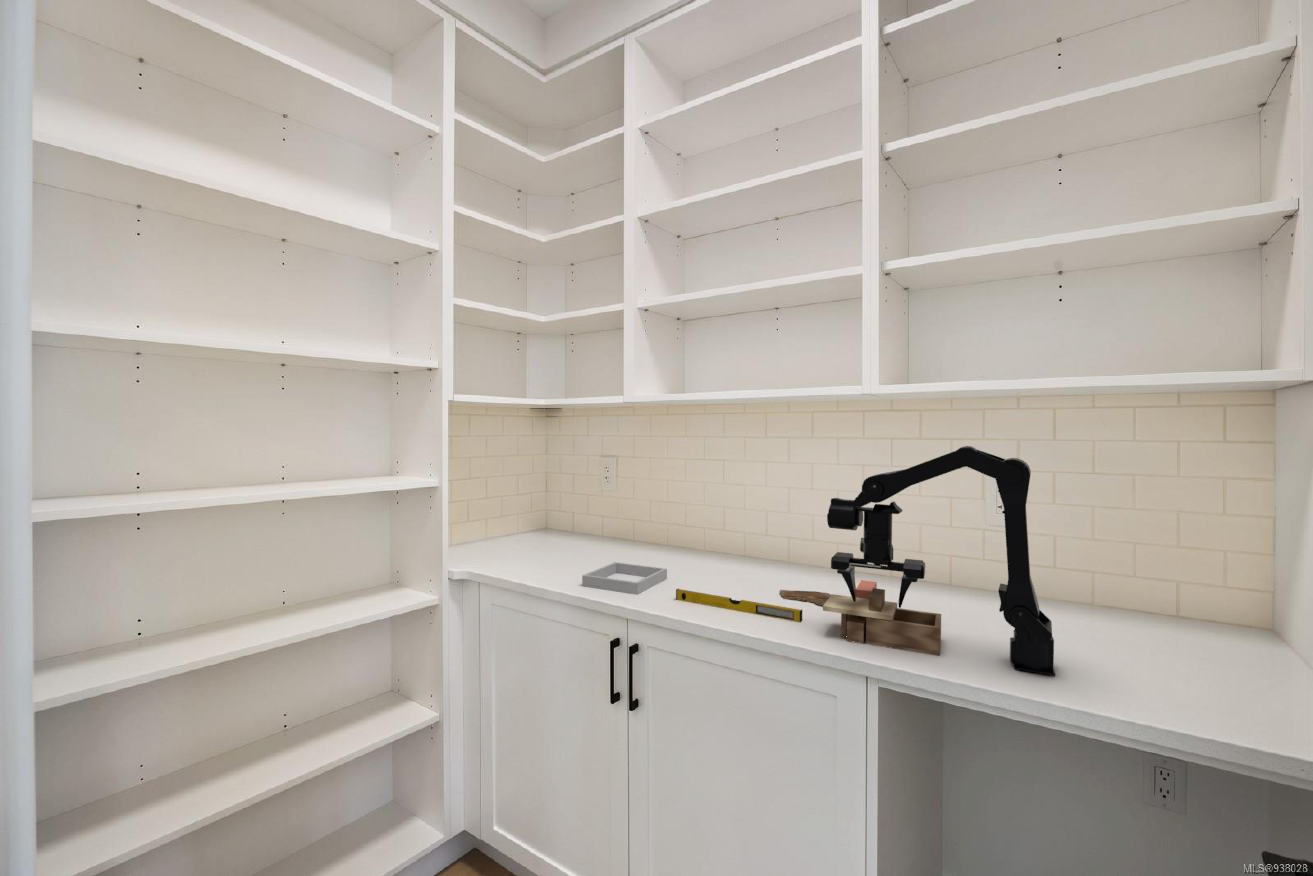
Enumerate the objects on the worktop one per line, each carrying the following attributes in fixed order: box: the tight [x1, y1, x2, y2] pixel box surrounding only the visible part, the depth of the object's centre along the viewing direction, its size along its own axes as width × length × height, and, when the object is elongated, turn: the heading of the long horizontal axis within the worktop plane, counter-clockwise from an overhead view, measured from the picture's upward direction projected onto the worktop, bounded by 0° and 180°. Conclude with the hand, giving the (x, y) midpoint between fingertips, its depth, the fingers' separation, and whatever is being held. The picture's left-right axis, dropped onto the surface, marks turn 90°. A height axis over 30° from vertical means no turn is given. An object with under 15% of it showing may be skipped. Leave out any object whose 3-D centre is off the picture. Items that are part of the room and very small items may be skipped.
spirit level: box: [675, 587, 803, 623], centre depth 147 cm, size 33×1×3 cm, turn 59°
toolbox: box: [840, 607, 942, 656], centre depth 132 cm, size 19×21×6 cm
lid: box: [822, 588, 898, 621], centre depth 130 cm, size 14×10×4 cm
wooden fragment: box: [778, 589, 831, 607], centre depth 155 cm, size 26×11×1 cm, turn 52°
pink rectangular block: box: [856, 580, 878, 599], centre depth 140 cm, size 4×9×4 cm, turn 153°
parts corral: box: [581, 561, 668, 595], centre depth 172 cm, size 18×18×3 cm
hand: (876, 604), depth 128 cm, fingers open, 9 cm apart
